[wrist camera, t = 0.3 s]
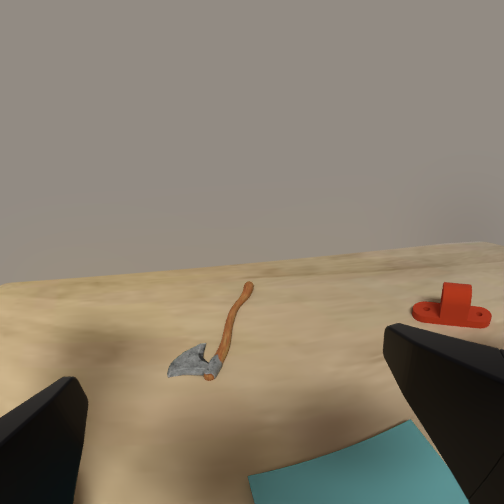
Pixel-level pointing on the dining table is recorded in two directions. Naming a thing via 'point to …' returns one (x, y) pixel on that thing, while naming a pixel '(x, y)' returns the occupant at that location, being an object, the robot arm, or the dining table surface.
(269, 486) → the mat
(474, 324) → the bracket
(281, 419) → the dining table surface
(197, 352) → the axe
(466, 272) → the dining table surface
